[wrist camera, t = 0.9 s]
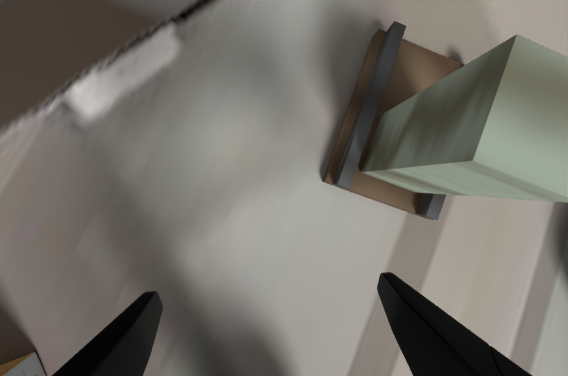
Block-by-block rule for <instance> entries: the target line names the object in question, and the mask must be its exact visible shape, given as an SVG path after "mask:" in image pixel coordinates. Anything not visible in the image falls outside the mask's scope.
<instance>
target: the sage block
mask: <svg viewBox="0 0 568 376" xmlns="http://www.w3.org/2000/svg"><path fill="white" fill-rule="evenodd" d="M361 173H364V174H366V175H369V176H372V177H374V178H377V179H380V180H383V181H385V182H388V183H391V184H394V185H396V186H399V187H402V188H405V189H407V190H410V191H413V192H419V193H434V194H448V195H463V196H477V197H492V198H507V199H521V200H536V201H550V202H565V203H568V57H567V56H565V55H562V54H560V53H558V52H556V51H553V50H551V49H549V48H547V47H544V46H542V45H540V44H538V43H535V42H533V41H531V40H529V39H526V38H524V37H522V36H520V35H515V36H513V37H512V38H510V39H508V40H507V41H505V42H503V43H502V44H500V45H498V46H497V47H495V48H493V49H491V50H490V51H488V52H486V53H485V54H483V55H481V56H480V57H478V58H476V59H475V60H473V61H471V62H470V63H468V64H466V65H465V66H463V67H461V68H460V69H458V70H456V71H454V72H453V73H451V74H449V75H448V76H446V77H444V78H443V79H441V80H439V81H438V82H436V83H434V84H433V85H431V86H429V87H428V88H426V89H424V90H422V91H421V92H419V93H417V94H416V95H414V96H412V97H411V98H409V99H407V100H406V101H404V102H402V103H401V104H399V105H397V106H396V107H394V108H392V109H390V110H389V111H387V112H385V113H384V114H382V115H381V116H380V119H379V121H378V124H377V127H376V130H375V133H374V136H373V139H372V141H371V144H370V147H369V150H368V153H367V156H366V159H365V162H364V164H363V167H362V170H361Z"/></svg>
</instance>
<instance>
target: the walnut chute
mask: <svg viewBox="0 0 568 376" xmlns="http://www.w3.org/2000/svg"><path fill="white" fill-rule="evenodd" d="M405 28H406V26H405V25H403V24H400V23H398V22H396V21H394V23H393V24H392V25H391V26H390V28H389V29H388V30H387V31H386V32H385V31H382V30H380V29H378V31H377V32H376V33H375V35H374V36H373V38H372V41H371V44H370V47H369V50H368V53H367V55H366V58H365V61H364V64H363V67H362V70H361V73H360V76H359V78H358V81H357V84H356V87H355V90H354V93H353V96H352V98H351V101H350V104H349V107H348V110H347V113H346V116H345V119H344V121H343V124H342V127H341V130H340V133H339V136H338V139H337V141H336V144H335V147H334V150H333V153H332V156H331V159H330V162H329V164H328V167H327V170H326V173H325V176H324V179H323V182H325V183H328V184H331V185H334V186H336V187H339V188H342V189H345V190H348V191H350V192H353V193H356V194H359V195H362V196H365V197H367V198H370V199H373V200H376V201H379V202H381V203H384V204H387V205H390V206H393V207H395V208H398V209H401V210H404V211H407V212H409V213H412V214H415V215H418V216H421V217H424V218H427V219H432V220H433V219H436V220H438V217H439V214H440V211H441V208H442V205H443V203H444V200H445V197H446V194H434V193H419V192H413V191H410V190H407V189H405V188H402V187H399V186H396V185H394V184H391V183H388V182H385V181H383V180H380V179H377V178H374V177H372V176H369V175H366V174H364V173H361V170H362V167H363V164H364V162H365V159H366V156H367V153H368V150H369V147H370V144H371V141H372V139H373V136H374V133H375V130H376V127H377V124H378V121H379V119H380V116H381V115H382V114H384V113H385V112H387V111H389V110H390V109H392V108H394V107H396V106H397V105H399V104H401V103H402V102H404V101H406V100H407V99H409V98H411V97H412V96H414V95H416V94H417V93H419V92H421V91H422V90H424V89H426V88H428V87H429V86H431V85H433V84H434V83H436V82H438V81H439V80H441V79H443V78H444V77H446V76H448V75H449V74H451V73H453V72H454V71H456V70H458V69H460V68H461V67H463V66H465V65H463V64H461V63H458V62H456V61H453V60H451V59H449V58H446V57H444V56H442V55H439V54H437V53H434V52H432V51H430V50H427V49H425V48H423V47H420V46H418V45H416V44H413V43H411V42H408V41H406V40H404V39H402V37H403V34H404V31H405Z"/></svg>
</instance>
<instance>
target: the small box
mask: <svg viewBox="0 0 568 376" xmlns="http://www.w3.org/2000/svg"><path fill="white" fill-rule="evenodd" d="M0 376H46V375H45V372H44V370H43V368H42V366H41V363H40V361H39V359H38V357H37V354H36V353H35V352H32V353H30V354H27V355H25V356H22V357H20V358H17V359H15V360H12V361H10V362H7V363H4V364H1V365H0Z"/></svg>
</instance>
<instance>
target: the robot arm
mask: <svg viewBox="0 0 568 376" xmlns="http://www.w3.org/2000/svg"><path fill="white" fill-rule="evenodd" d="M377 290H378V294H379V296H380V299H381V302H382V305H383V307H384V310H385V313H386V316H387V318H388V321H389V324H390V326H391V329H392V331H393V334H394V336H395V338H396V340H397V342H398V344H399V347H400V349H401V351H402V353H403V355H404V357H405V359H406V361H407V363H408V366H409V368H410V370H411V372H412V374H413V376H532V375H531V374H529V373H528V372H526V371H525V370H523V369H522V368H521V367H519V366H518V365H516V364H515V363H514V362H512V361H511V360H509V359H508V358H507V357H505V356H504V355H503V354H501V353H500V352H498V351H497V350H496V349H494V348H493V347H492V346H489V344H488V343H486V342H485V341H484V340H482V339H481V338H479V337H478V336H477V335H475V334H474V333H473V332H471V331H470V330H469V329H467V328H466V327H465V326H463V325H462V324H461V323H459V322H458V321H456V320H455V319H454V318H452V317H451V316H450V315H448V314H447V313H446V312H444V311H443V310H442V309H440V308H439V307H438V306H436V305H435V304H434V303H432V302H431V301H429V300H428V299H427V298H425V297H424V296H423V295H421V294H420V293H419V292H417V291H416V290H415V289H413V288H412V287H411V286H409V285H408V284H406V283H405V282H404V281H402V280H401V279H400V278H398V277H397V276H396V275H394V274H393V273H391V272H386V273H381V274H380V277H379V281H378V285H377ZM162 310H163V305H162V302H161V299H160V297H159V294H158V292H157V291H148V292H145V293H143V294H142V295H141V296H140V297H139V298H138V299H136V300H135V301H134V302H133V303H132V304H131V305H130V306H129V307H128V308H126V309H125V310H124V311H123V312H122V313H121V314H120V315H119V316H118V317H116V318H115V319H114V320H113V321H112V322H111V323H110V324H109V325H108V326H106V327H105V328H104V329H103V330H102V331H101V332H100V333H99V334H98V335H96V336H95V337H94V338H93V339H92V340H91V341H90V342H89V343H88V344H86V345H85V346H84V347H83V348H82V349H81V350H80V351H79V352H78V353H76V354H75V355H74V356H73V357H72V358H71V359H70V360H69V361H68V362H67V363H65V364H64V365H63V366H62V367H61V368H60V369H59V370H58V371H57V372H55V373H54V374H53V375H52V376H143V374H144V371H145V368H146V366H147V363H148V360H149V357H150V354H151V351H152V347H153V344H154V340H155V336H156V333H157V329H158V325H159V321H160V318H161V314H162Z"/></svg>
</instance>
